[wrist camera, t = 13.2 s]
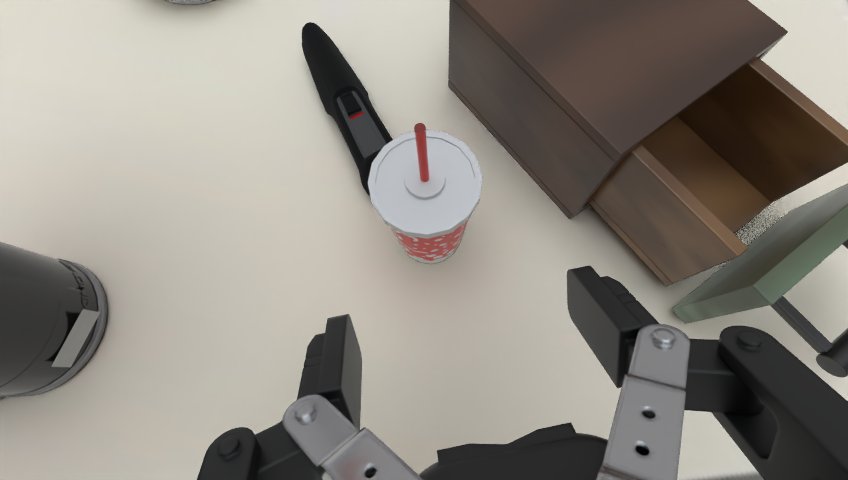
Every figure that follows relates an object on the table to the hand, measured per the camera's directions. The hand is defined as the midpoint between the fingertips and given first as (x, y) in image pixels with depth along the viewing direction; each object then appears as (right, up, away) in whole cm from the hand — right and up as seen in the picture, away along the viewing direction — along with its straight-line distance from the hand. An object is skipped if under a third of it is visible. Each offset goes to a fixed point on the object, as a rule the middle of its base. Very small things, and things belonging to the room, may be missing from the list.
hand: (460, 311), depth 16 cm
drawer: (+18, +3, +14) cm, 23 cm away
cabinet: (+10, +13, +19) cm, 25 cm away
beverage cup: (-1, +3, +16) cm, 16 cm away
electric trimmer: (-7, +13, +18) cm, 23 cm away
